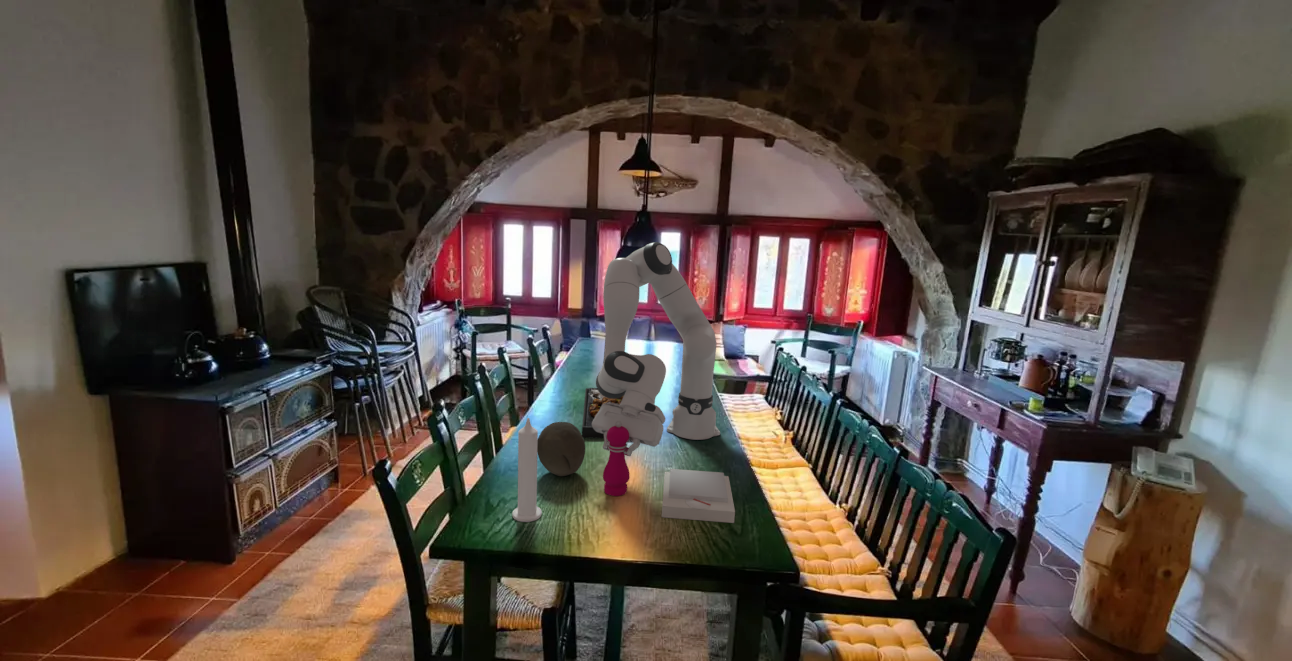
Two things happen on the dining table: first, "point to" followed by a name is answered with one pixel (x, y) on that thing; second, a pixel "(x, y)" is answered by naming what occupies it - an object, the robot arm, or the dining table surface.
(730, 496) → the kitchen scale
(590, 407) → the food platter
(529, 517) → the candle
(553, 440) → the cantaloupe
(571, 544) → the dining table surface
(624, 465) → the pepper mill
